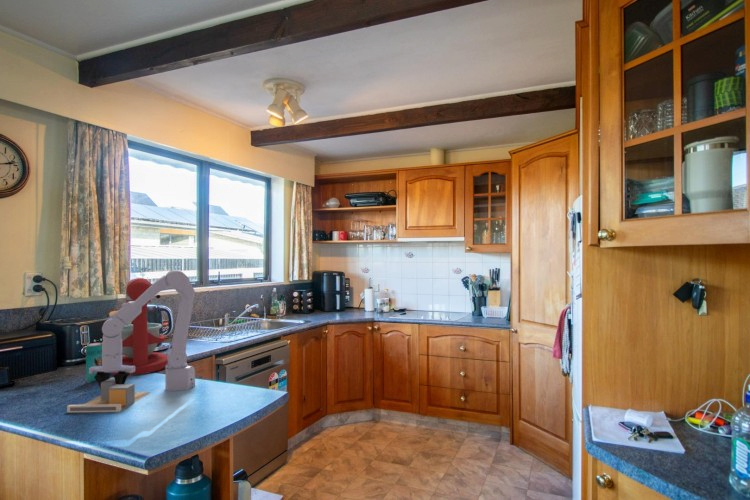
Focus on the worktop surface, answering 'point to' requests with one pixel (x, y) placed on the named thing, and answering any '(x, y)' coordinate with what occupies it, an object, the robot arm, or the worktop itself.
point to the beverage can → (93, 359)
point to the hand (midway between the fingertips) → (112, 393)
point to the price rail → (94, 408)
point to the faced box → (121, 394)
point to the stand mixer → (141, 335)
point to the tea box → (106, 388)
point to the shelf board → (98, 401)
